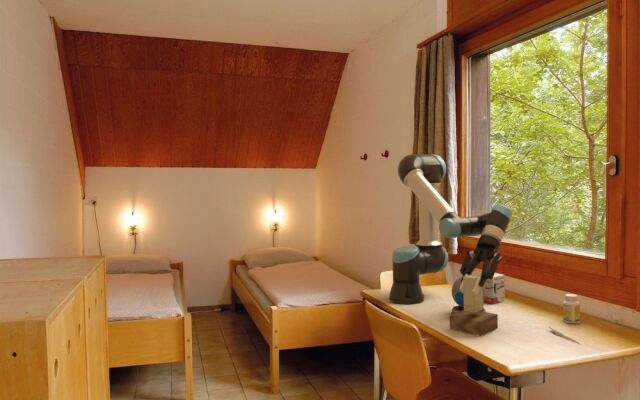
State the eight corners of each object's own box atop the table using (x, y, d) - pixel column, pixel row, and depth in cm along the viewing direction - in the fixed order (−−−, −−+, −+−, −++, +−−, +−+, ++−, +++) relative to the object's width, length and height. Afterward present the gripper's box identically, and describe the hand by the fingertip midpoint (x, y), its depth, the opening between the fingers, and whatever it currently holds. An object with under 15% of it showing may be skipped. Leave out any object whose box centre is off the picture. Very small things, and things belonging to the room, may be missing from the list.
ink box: (492, 304, 202) (492, 276, 201) (482, 302, 206) (482, 275, 205) (505, 301, 206) (505, 274, 206) (495, 299, 210) (495, 272, 210)
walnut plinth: (449, 329, 171) (449, 315, 171) (467, 321, 179) (466, 308, 179) (480, 336, 162) (480, 321, 162) (497, 328, 170) (497, 314, 170)
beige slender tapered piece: (545, 330, 166) (546, 325, 166) (552, 330, 167) (552, 324, 167) (577, 347, 152) (577, 341, 152) (584, 346, 152) (584, 340, 152)
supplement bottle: (578, 319, 177) (578, 293, 177) (581, 324, 172) (581, 297, 172) (562, 318, 179) (562, 293, 179) (564, 323, 174) (564, 296, 174)
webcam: (491, 312, 190) (491, 275, 189) (477, 320, 180) (476, 280, 180) (461, 307, 199) (460, 271, 198) (445, 314, 189) (445, 276, 189)
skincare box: (474, 313, 166) (473, 278, 165) (463, 310, 169) (462, 276, 169) (483, 309, 170) (483, 275, 170) (472, 307, 173) (471, 273, 173)
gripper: (516, 248, 173) (495, 302, 163) (472, 244, 186) (450, 294, 175) (509, 235, 170) (487, 289, 159) (465, 232, 182) (442, 282, 172)
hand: (468, 292), depth 167 cm, fingers closed on skincare box, 4 cm apart
